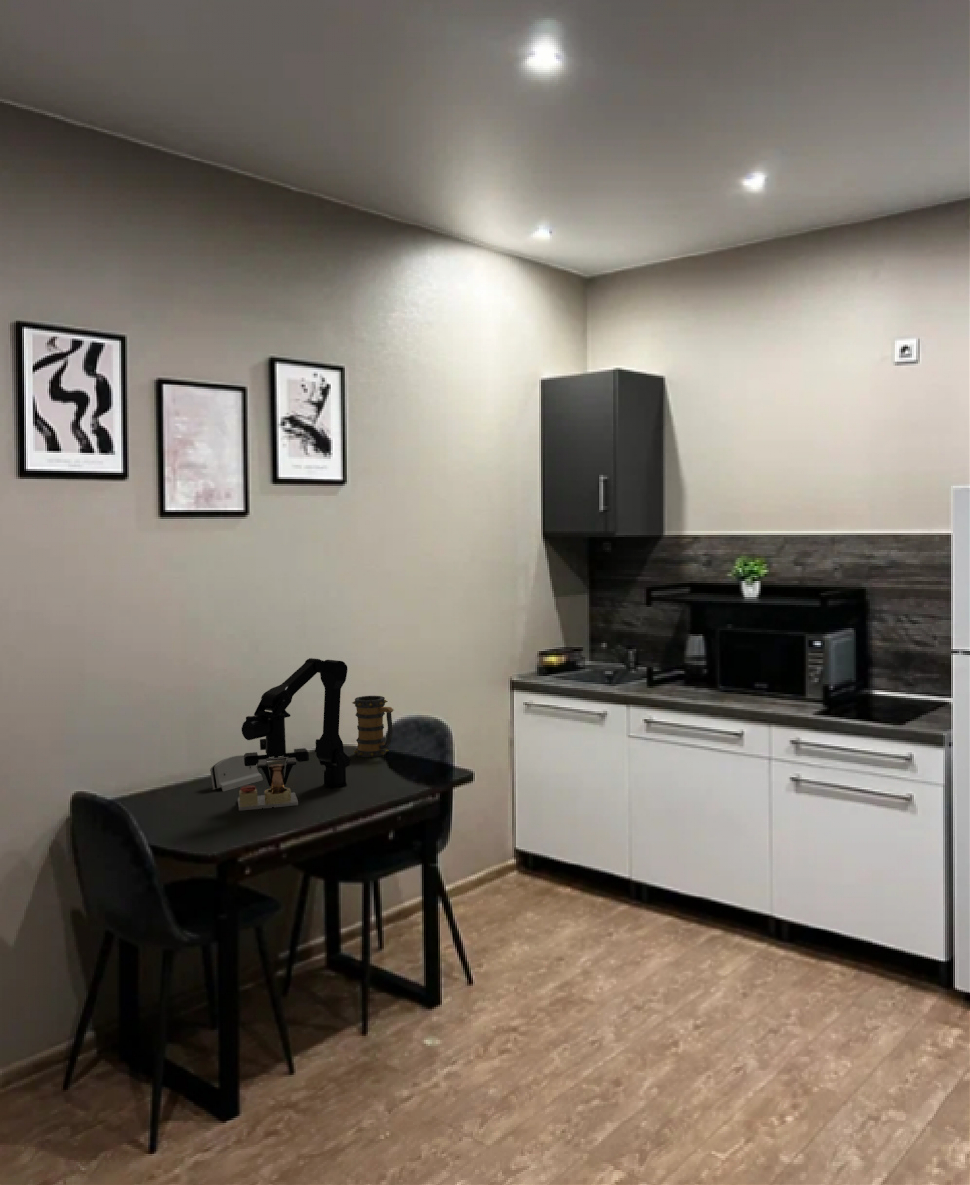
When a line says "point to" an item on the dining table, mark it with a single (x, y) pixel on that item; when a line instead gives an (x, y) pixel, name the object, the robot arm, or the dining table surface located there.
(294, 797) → the panel with octagonal sockets
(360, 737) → the mug
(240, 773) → the hinge
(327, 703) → the robot arm
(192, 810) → the dining table surface
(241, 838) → the dining table surface
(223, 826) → the dining table surface
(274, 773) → the pipe stub
